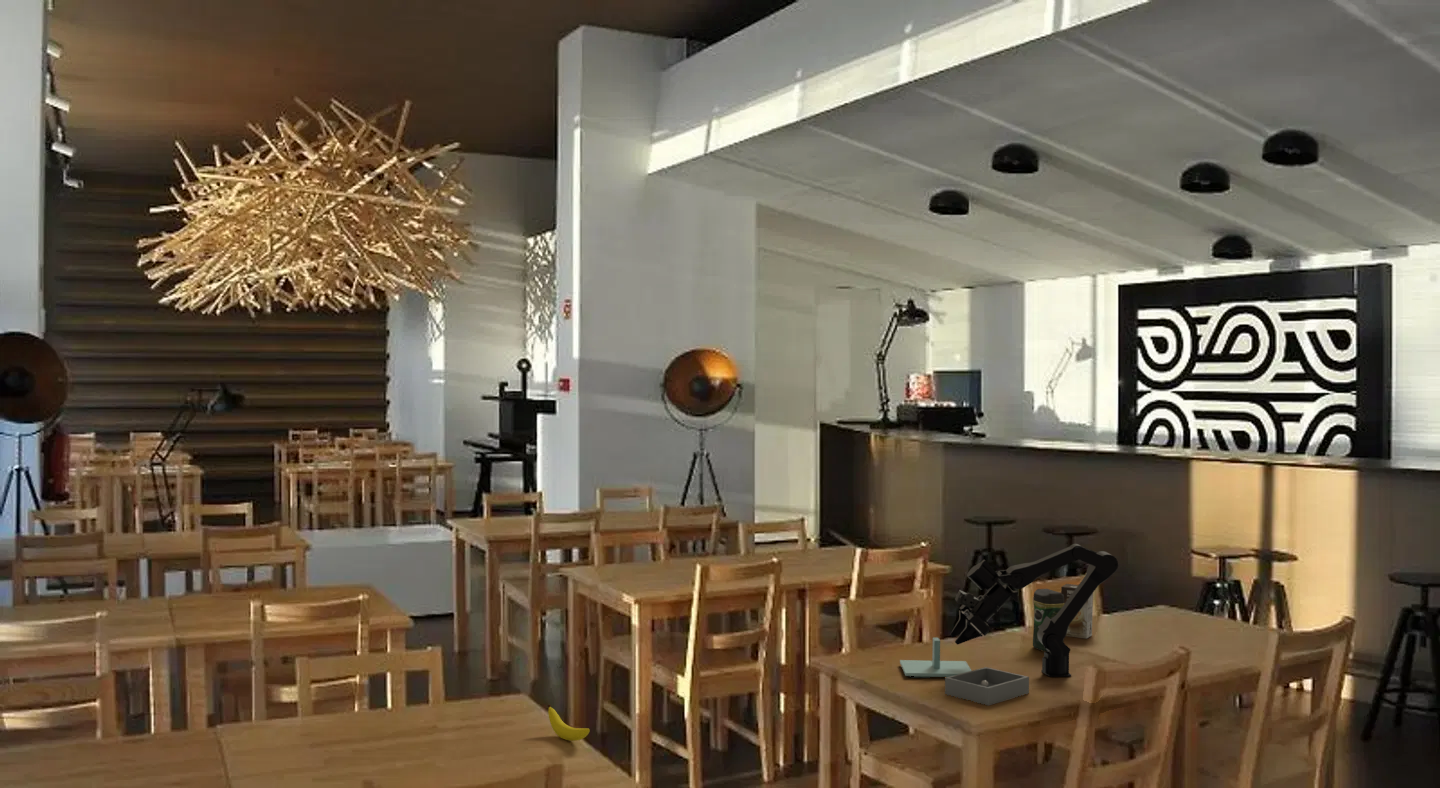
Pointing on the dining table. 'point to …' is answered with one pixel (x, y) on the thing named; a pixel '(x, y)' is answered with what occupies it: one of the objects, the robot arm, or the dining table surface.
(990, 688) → the tub
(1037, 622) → the coffee jar
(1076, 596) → the robot arm
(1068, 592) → the coffee box
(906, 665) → the lid
